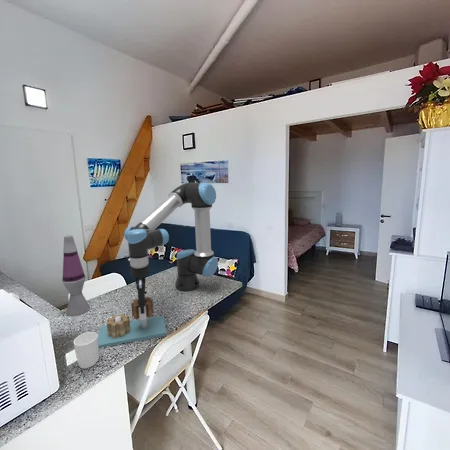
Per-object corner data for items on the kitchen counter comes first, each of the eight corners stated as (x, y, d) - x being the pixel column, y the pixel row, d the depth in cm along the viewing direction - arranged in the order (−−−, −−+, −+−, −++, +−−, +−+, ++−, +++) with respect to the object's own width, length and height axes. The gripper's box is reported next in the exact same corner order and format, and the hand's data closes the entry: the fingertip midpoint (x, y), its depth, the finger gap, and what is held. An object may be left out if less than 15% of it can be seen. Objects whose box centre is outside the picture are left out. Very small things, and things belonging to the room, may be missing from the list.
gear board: (163, 318, 122) (162, 302, 120) (166, 335, 109) (165, 317, 107) (100, 329, 114) (98, 312, 112) (95, 349, 100) (93, 330, 99)
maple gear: (126, 323, 115) (125, 311, 114) (133, 332, 109) (132, 319, 108) (105, 331, 110) (104, 318, 109) (111, 341, 103) (110, 328, 102)
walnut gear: (132, 310, 114) (131, 298, 113) (153, 307, 117) (152, 295, 115) (131, 321, 105) (130, 308, 104) (153, 317, 108) (153, 304, 107)
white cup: (83, 355, 97) (79, 332, 95) (103, 354, 98) (101, 331, 96) (72, 370, 89) (69, 346, 87) (95, 369, 90) (92, 344, 88)
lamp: (61, 313, 127) (49, 237, 119) (79, 303, 137) (70, 232, 129) (76, 317, 123) (66, 239, 115) (94, 307, 133) (85, 234, 125)
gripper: (131, 258, 116) (135, 303, 120) (128, 275, 95) (133, 328, 100) (148, 257, 118) (151, 300, 122) (149, 273, 98) (152, 325, 102)
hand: (143, 313), depth 111 cm, fingers closed on walnut gear, 9 cm apart
